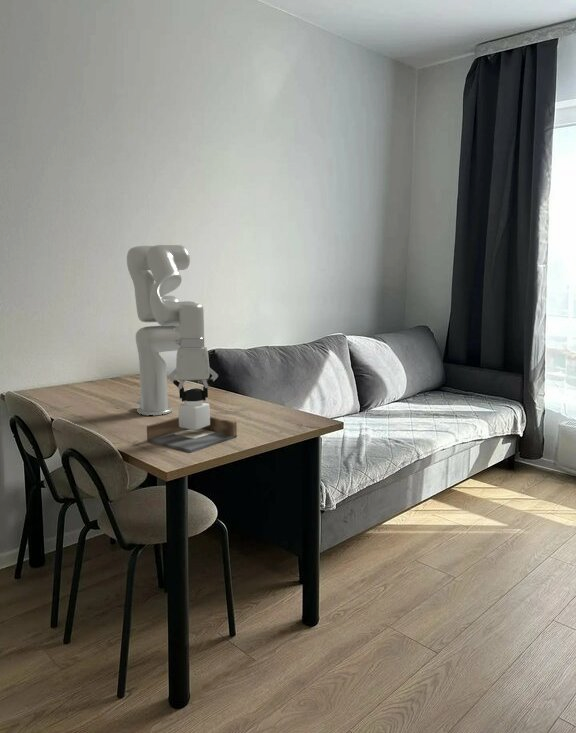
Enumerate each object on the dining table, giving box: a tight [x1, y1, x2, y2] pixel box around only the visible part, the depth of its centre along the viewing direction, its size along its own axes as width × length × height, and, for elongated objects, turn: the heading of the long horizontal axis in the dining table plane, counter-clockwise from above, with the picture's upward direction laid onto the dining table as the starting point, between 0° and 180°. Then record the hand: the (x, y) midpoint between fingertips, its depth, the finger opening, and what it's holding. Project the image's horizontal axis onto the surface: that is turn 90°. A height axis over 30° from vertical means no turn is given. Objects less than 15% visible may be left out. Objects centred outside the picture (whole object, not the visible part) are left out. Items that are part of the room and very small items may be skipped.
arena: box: [146, 415, 238, 453], centre depth 195 cm, size 19×20×5 cm
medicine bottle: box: [177, 387, 211, 430], centre depth 197 cm, size 7×7×12 cm
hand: (193, 399), depth 197 cm, fingers closed on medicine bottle, 6 cm apart
